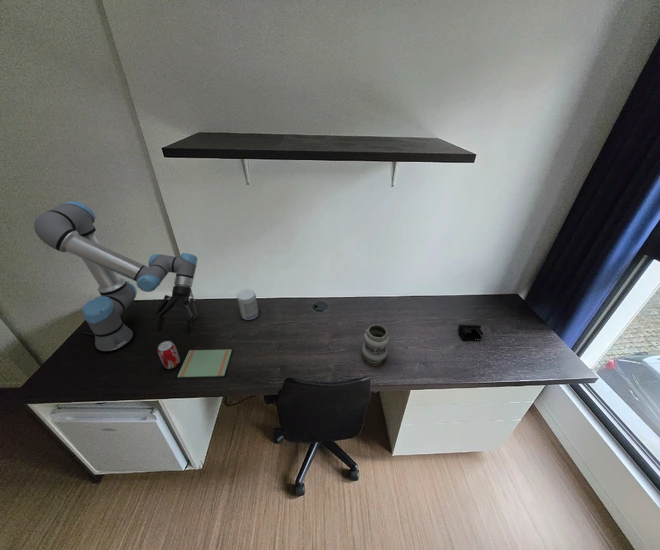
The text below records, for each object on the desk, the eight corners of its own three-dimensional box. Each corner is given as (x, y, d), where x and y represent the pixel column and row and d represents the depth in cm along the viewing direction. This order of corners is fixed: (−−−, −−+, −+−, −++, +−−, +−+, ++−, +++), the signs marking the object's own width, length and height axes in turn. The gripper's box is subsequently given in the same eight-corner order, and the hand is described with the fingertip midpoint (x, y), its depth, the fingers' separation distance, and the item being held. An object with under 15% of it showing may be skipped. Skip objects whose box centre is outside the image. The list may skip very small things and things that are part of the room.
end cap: (474, 331, 156) (478, 322, 152) (480, 341, 150) (484, 331, 146) (456, 331, 155) (459, 321, 152) (461, 341, 150) (465, 331, 146)
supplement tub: (261, 311, 164) (258, 290, 156) (253, 322, 156) (250, 301, 148) (246, 308, 166) (242, 287, 158) (237, 318, 158) (233, 297, 150)
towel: (177, 377, 126) (177, 376, 126) (189, 351, 139) (189, 350, 138) (224, 376, 127) (223, 375, 127) (232, 350, 140) (231, 349, 140)
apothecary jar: (355, 355, 140) (358, 328, 130) (373, 344, 146) (378, 317, 136) (372, 372, 132) (377, 344, 122) (391, 360, 138) (397, 333, 128)
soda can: (176, 370, 129) (169, 352, 123) (161, 370, 129) (152, 351, 123) (183, 358, 135) (177, 339, 128) (168, 357, 135) (161, 339, 128)
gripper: (212, 290, 137) (203, 336, 133) (162, 285, 139) (152, 329, 135) (204, 288, 130) (194, 336, 125) (152, 282, 132) (140, 329, 128)
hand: (172, 332), depth 130 cm, fingers open, 13 cm apart
